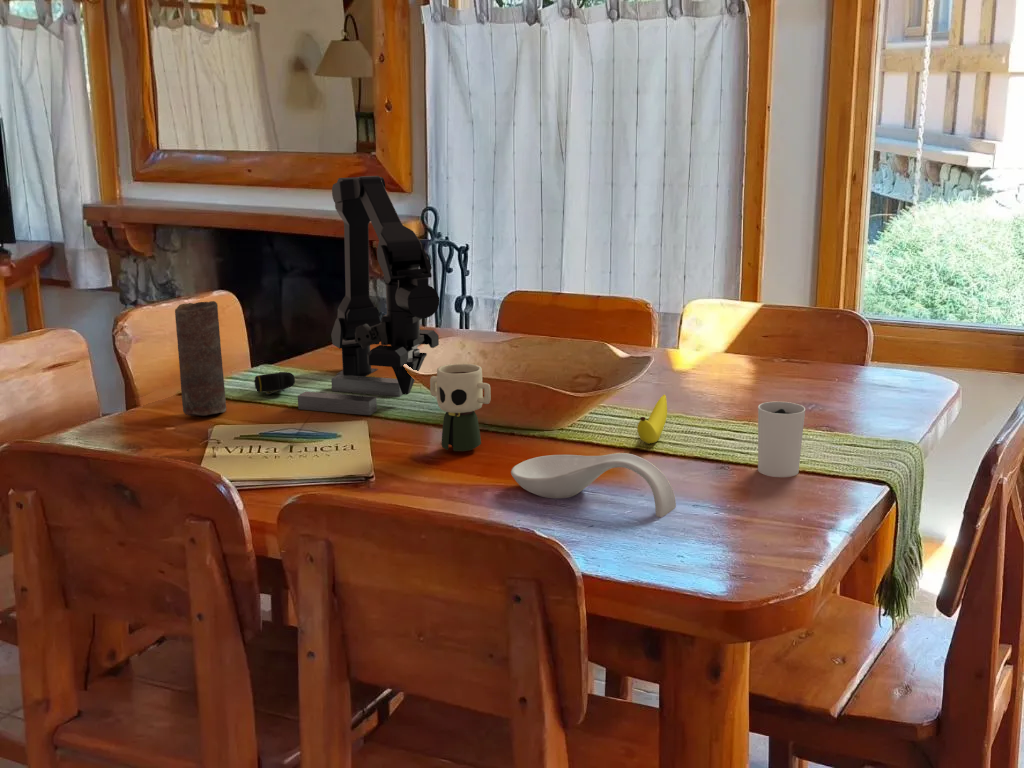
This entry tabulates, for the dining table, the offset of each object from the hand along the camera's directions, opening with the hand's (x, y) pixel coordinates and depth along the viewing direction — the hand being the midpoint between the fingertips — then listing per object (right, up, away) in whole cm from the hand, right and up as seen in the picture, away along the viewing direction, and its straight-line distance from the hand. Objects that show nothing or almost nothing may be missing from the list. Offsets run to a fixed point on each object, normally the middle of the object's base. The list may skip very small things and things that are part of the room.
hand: (405, 394), depth 195 cm
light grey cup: (+58, -11, -37) cm, 70 cm away
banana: (+42, -7, -20) cm, 47 cm away
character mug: (+11, -9, -24) cm, 28 cm away
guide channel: (-10, -1, +4) cm, 11 cm away
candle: (-35, -4, -5) cm, 35 cm away
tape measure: (-22, 0, +8) cm, 24 cm away
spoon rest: (+30, -14, -46) cm, 57 cm away
